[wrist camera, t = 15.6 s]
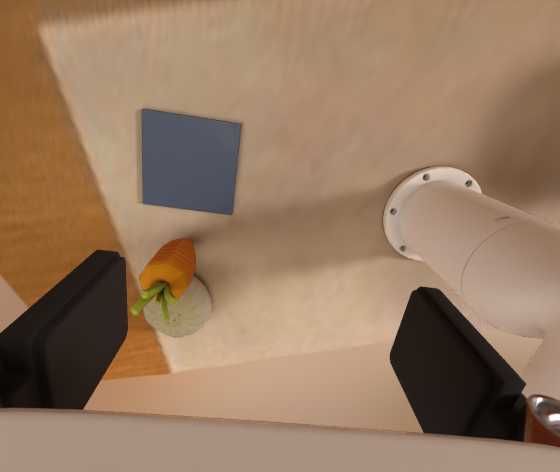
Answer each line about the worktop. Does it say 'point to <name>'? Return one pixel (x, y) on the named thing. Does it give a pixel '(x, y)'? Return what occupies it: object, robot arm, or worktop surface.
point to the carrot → (167, 275)
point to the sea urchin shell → (182, 312)
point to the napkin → (189, 161)
